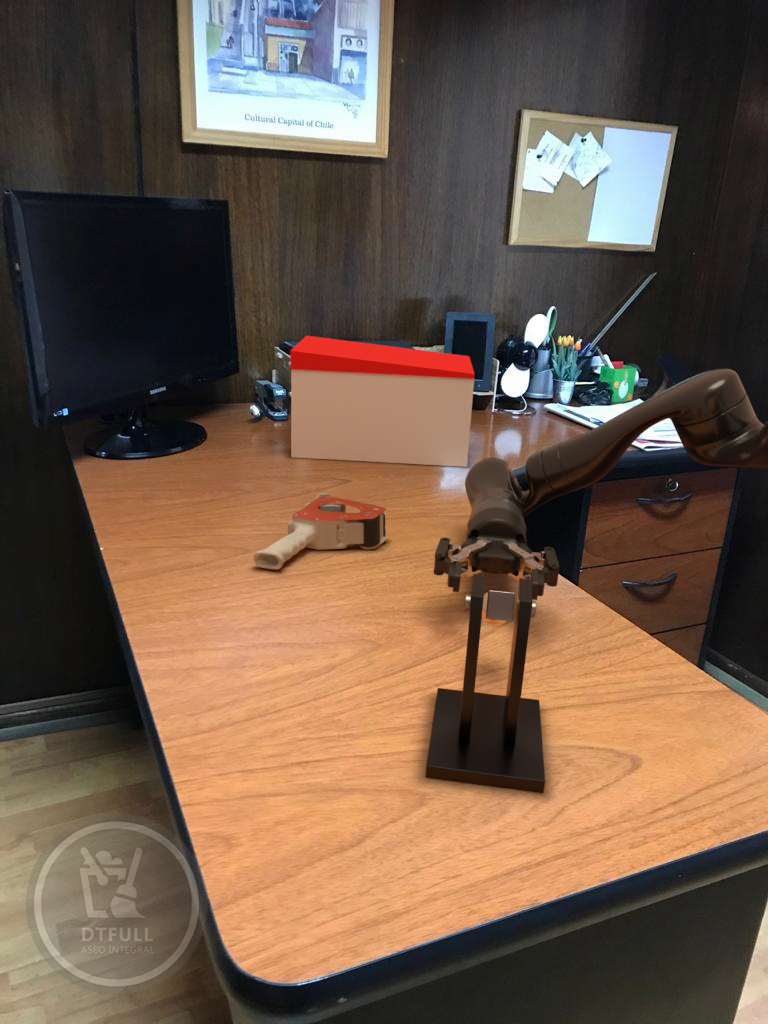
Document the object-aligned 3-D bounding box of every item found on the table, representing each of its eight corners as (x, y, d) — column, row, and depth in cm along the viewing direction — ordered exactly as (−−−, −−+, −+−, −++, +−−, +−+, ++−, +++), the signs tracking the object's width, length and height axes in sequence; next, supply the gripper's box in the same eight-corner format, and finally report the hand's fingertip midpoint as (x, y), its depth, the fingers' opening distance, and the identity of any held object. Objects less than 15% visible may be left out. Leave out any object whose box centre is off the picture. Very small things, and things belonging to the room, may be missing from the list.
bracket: (436, 697, 77) (448, 553, 72) (537, 710, 76) (557, 564, 71) (425, 777, 66) (437, 613, 61) (543, 792, 65) (567, 627, 59)
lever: (475, 623, 82) (478, 589, 82) (509, 627, 81) (512, 593, 82) (477, 624, 65) (481, 582, 65) (520, 629, 64) (524, 586, 65)
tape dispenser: (256, 584, 103) (401, 565, 107) (253, 549, 100) (401, 531, 105) (245, 529, 118) (372, 514, 123) (242, 497, 116) (372, 483, 120)
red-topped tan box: (304, 430, 172) (305, 335, 164) (462, 439, 170) (470, 343, 163) (289, 457, 152) (289, 350, 145) (467, 467, 151) (475, 360, 144)
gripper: (548, 565, 100) (557, 625, 85) (439, 555, 102) (428, 612, 87) (555, 511, 97) (565, 563, 82) (443, 501, 99) (432, 550, 84)
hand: (495, 588), depth 85 cm, fingers open, 8 cm apart
